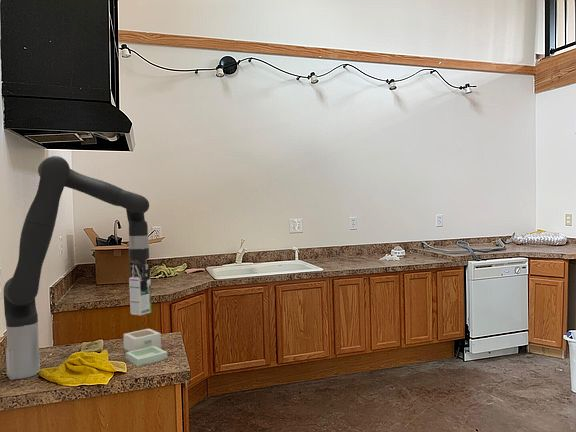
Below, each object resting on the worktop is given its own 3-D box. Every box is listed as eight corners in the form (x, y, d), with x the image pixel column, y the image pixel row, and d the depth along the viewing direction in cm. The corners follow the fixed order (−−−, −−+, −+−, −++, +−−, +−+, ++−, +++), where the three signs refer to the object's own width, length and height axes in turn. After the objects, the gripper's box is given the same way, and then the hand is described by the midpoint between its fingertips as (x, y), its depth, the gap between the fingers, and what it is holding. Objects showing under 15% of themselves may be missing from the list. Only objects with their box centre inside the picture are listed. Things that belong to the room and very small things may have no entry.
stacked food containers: (135, 355, 167) (134, 339, 167) (123, 349, 175) (123, 333, 175) (162, 349, 174) (161, 333, 174) (149, 343, 182) (149, 328, 182)
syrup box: (140, 315, 171) (139, 277, 171) (129, 314, 174) (128, 277, 173) (151, 312, 176) (150, 275, 176) (141, 311, 179) (140, 275, 178)
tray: (138, 366, 155) (137, 359, 155) (125, 359, 163) (125, 352, 163) (167, 358, 162) (167, 352, 162) (154, 352, 170) (154, 345, 170)
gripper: (122, 247, 177) (123, 288, 177) (136, 248, 166) (138, 293, 167) (140, 245, 182) (141, 286, 182) (156, 247, 171) (157, 290, 172)
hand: (140, 289), depth 175 cm, fingers closed on syrup box, 6 cm apart
